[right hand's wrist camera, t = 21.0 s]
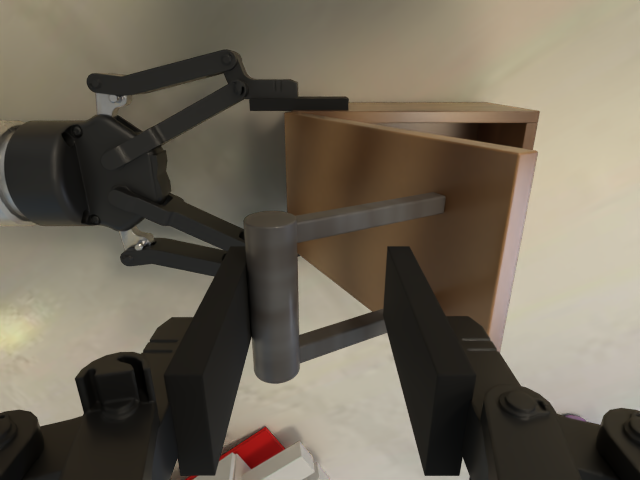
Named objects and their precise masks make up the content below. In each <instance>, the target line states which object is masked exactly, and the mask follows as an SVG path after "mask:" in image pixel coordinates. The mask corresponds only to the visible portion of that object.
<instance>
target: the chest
mask: <svg viewBox="0 0 640 480" xmlns="http://www.w3.org/2000/svg"><path fill="white" fill-rule="evenodd" d="M291 112H301V113H307V114H313V115H319V116H326V117H332V118H338V119H344V120H350V121H356V122H363V123H369V124H375V125H381V126H387V127H393V128H399V129H406V130H412V131H418V132H424V133H430V134H436V135H442V136H449V137H455V138H461V139H467V140H473V141H479V142H485V143H492V144H498V145H504V146H510V147H516V148H522V149H528V150H533V145H534V140H535V135H536V129H537V123H538V118H539V113H540V111H536V110H530V109H524V108H518V107H511V106H505V105H499V104H493V103H487V102H386V103H349V104H348V110H292V111H291Z"/></svg>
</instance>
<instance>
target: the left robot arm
mask: <svg viewBox="0 0 640 480" xmlns="http://www.w3.org/2000/svg"><path fill="white" fill-rule="evenodd" d="M223 73H224V75H225V77H226V80H227V82H228V85H226V86H224V87H222V88H221V89H219V90H217V91H215V92H214V93H212V94H210V95H208V96H207V97H205V98H203V99H201V100H200V101H198V102H196V103H194V104H193V105H191V106H189V107H187V108H185V109H184V110H182V111H180V112H178V113H177V114H175V115H173V116H171V117H170V118H168V119H166V120H164V121H163V122H161V123H159V124H157V125H155V126H153V127H151V128H149V129H147V130H146V131H144V132H143V131H141V130H140V129H138V128H137V127H135V126H134V125H132V124H131V123H129V122H128V121H126V120H125V119H123V118H122V117H120V116H118V110H119V109H120V108H121V107H122V106H128V105H129V104H130V103H131V102H132V95H136V94H145V93H150V92H154V91H158V90H161V89H165V88H169V87H173V86H177V85H181V84H185V83H188V82H192V81H196V80H200V79H204V78H208V77H212V76H215V75H219V74H223ZM87 85H88V87H89V89H90V90H91V91H93V92H95V93H96V106H97V115H95V116H93V117H92V118H90V119H89V120H86V121H29V122H26V123H25V122H21V121H0V226H34V225H37V224H38V225H41V226H93V225H102V226H106V227H109V228H111V229H113V230H116V231H119V233H120V236H121V239H122V242H123V246H124V249H125V251H124V252H123V253H122V254H121V256H120V260H121V262H122V263H123V264H124V265H126V266H136V265H145V264H156V265H161V266H166V267H171V268H176V269H181V270H186V271H190V272H195V273H200V274H205V275H210V276H215V275H216V273H217V271H218V269H219V267H220V265H221V264H222V262H223V260H224V258H225V256H226V254H227V252H228V250H229V248H230V246H245V235H244V229H242V228H240V227H237V226H235V225H233V224H231V223H229V222H227V221H224V220H222V219H220V218H218V217H216V216H214V215H211V214H209V213H207V212H205V211H203V210H200V209H198V208H196V207H194V206H192V205H190V204H187V203H185V202H184V200H183V199H182V198H180V197H178V196H176V195H174V194H171V193H170V192H171V185H170V180H169V178H168V175H167V173H166V166H167V155H166V150H163V149H162V147H161V145H163V144H165V143H167V142H169V141H170V140H172V139H174V138H176V137H177V136H179V135H181V134H183V133H184V132H186V131H188V130H190V129H192V128H193V127H195V126H197V125H199V124H201V123H202V122H204V121H206V120H208V119H210V118H211V117H213V116H215V115H217V114H219V113H220V112H222V111H224V110H226V109H227V108H229V107H231V106H233V105H235V104H236V103H238V102H240V101H242V100H244V99H249V101H250V111H292V110H348V104H349V99H348V98H347V97H298V82H295V81H293V80H291V79H284V80H257V79H253V78H251V77H249V76H248V74H247V73H246V71H245V68H244V66H243V63H242V58H241V56H240V55H239V54H238V53H236V52H234V51H230V50H221V51H217V52H213V53H210V54H206V55H202V56H198V57H194V58H191V59H187V60H183V61H179V62H175V63H172V64H168V65H164V66H160V67H157V68H153V69H149V70H145V71H141V72H138V73H134V74H130V75H120V74H110V73H94V74H91V75H89V76H88V78H87ZM145 218H146V219H148V220H151V221H153V222H155V223H157V224H160V225H163V226H171V227H174V228H176V229H178V230H180V231H183V232H185V233H187V234H189V235H192V236H194V237H196V238H198V239H201V240H203V241H205V242H207V243H210V244H212V245H214V246H216V247H219V248H221V249H223V250H220V249H215V248H210V247H205V246H200V245H196V244H191V243H186V242H181V241H177V240H172V239H166V238H154V236H153V234H151V233H145V232H141V231H140V230H139V229H138V228H137V226H136V225H137V224H138V223H140V222H141V221H142V220H144V219H145ZM224 250H225V251H224ZM298 256H300V255H299V254H298V253H297V257H298Z"/></svg>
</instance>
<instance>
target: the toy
mask: <svg viewBox="0 0 640 480" xmlns="http://www.w3.org/2000/svg"><path fill="white" fill-rule="evenodd" d="M185 480H330V478H329V476H328V475H327V473H326V472H325V471H324V470H323V468H322V467H321V466H320V465H319V464H318V462H316V463H313V456H312V455H311V454H310V453H309V451H308V450H307V449H306V448H305V447H304V445H303V444H302V443H301V442H300V441H298V442H297V443H295V444H293V445H292V446H290V447H288V448H287V449H285V448H284V447H283V446H282V445H281V444H280V442H279V441H278V440H277V439H276V438H275V437H274V436H273V435H272V433H271V432H270V431H269V430H268V429H267V428H266V427H265V428H263V429H262V430H260V431H259V432H257V433H255V434H254V435H252V436H251V437H249V438H248V439H246V440H245V441H243V442H242V443H240V444H239V445H237V446H236V447H234V448H233V449H231V450H230V451H228V452H226V453H225V454H223V455H222V456H220V459H219V463H218V467H217V471H216V475H215V476H190V477H188V478H187V479H185Z"/></svg>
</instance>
